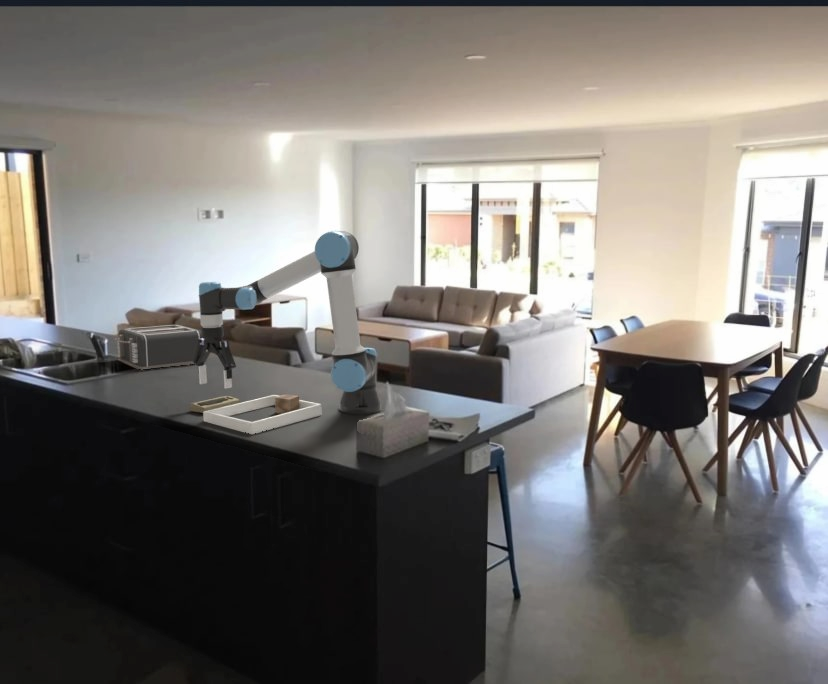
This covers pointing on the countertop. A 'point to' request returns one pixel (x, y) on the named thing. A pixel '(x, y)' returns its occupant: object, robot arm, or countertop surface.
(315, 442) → the countertop surface
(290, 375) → the countertop surface
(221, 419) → the bin
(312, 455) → the countertop surface
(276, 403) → the block
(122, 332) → the toaster
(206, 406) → the computer
